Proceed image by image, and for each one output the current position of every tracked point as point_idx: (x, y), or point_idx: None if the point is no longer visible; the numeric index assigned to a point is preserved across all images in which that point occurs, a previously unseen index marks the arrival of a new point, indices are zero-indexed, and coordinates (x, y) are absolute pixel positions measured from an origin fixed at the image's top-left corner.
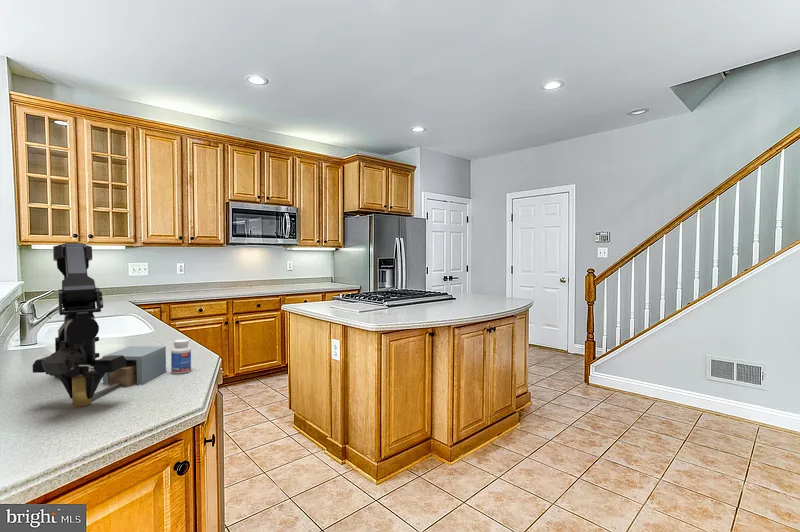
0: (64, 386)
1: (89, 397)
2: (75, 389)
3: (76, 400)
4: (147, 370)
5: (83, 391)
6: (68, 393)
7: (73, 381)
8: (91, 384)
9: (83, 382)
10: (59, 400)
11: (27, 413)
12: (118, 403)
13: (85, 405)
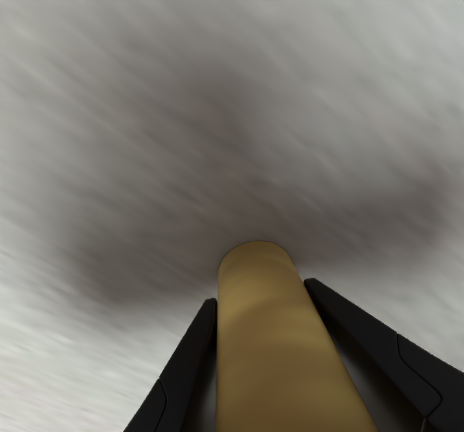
0: (401, 335)
1: (203, 305)
2: (272, 324)
3: (252, 265)
4: None
5: (223, 327)
6: (339, 296)
7: (321, 409)
8: (145, 405)
9: (225, 415)
10: (412, 285)
11: (455, 119)
12: (103, 319)
13: (219, 266)
